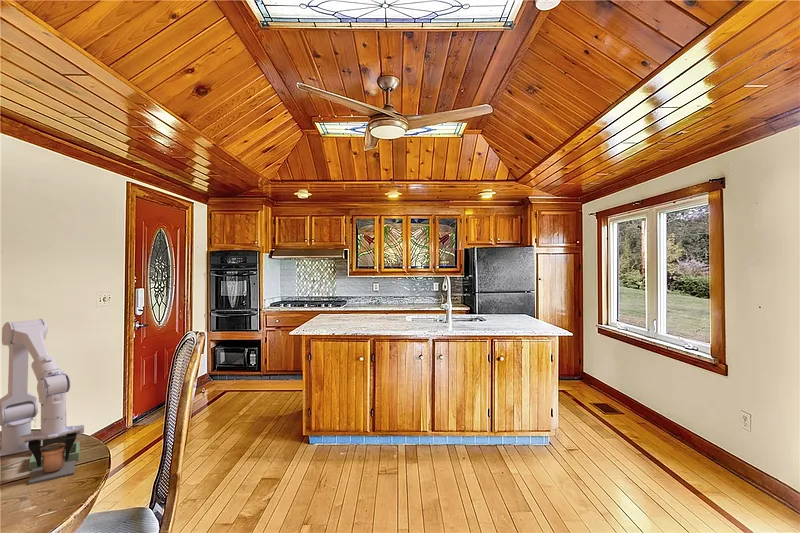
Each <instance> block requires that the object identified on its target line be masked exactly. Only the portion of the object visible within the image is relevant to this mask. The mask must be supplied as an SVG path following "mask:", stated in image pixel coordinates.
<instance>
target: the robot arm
mask: <svg viewBox="0 0 800 533" xmlns="http://www.w3.org/2000/svg"><path fill="white" fill-rule="evenodd" d="M48 328H49V327H48V323H47V321H46V320H45V319H44V318H39V319H33V320H31V319H30V320H20V321H6V322H5V323H4V324H3V325H2V327H1V344H2V346H6V347H8V371H7V372H8V377H7V378H8V379H7V394H5V395H3V397H1V398H0V427H1V428H0V429H1V430H0V432H1V437H0V438H1V439H0V440H1V441H0V444H1V446H0V457H3V456H8V455H13V454H14V455H15V454H18V453H25V452H31V454H32V453H33V455H34V457H35V459H36V462H37V467H38V466H41V459H42V457H41V454H40V450H41V449H42V441H43V440H44V439H50V438H55V437H61V436H66V453H65V454H66V455H65V461H67V460H68V458H69V453H71V452H70V450H71V448H72V445H73V443H74V442H76V440H77V436H78V434H79V435H80V434H84V433H85V424H81V425H71V426H70V425H69V426H67V393H69V391H70V389H71V380H70V377H69V375H68V373H67V372H65V371H64V370H61V368H60V366H59V364H58V361H57V359H56V357H55V356H53V355H49V352H48V348H47V345H46V344H47V343H46V342H45V340H46V337H47V334H48V331H49V329H48ZM29 354H30V356H31V357H32V359H33V362H31V364H30V366H31V369H32V371H33V373H34V376H35V379H36V381H37V385H36V391H37V394H38V397H37V396H36V395H35V394H33V393H32V392H29V388H28V387H29ZM39 403H40V431H35V432H32V421H34V418H36V417H37V415H38V413H39Z"/></svg>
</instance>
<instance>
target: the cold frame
mask: <svg viewBox="0 0 800 533" xmlns="http://www.w3.org/2000/svg"><path fill="white" fill-rule="evenodd" d="M80 444H81V442H80V441H74V443H73V445H72V448H71V450H70V453H69V458H68V460H67V461H65V462H69V461H74V460H75V462H78V461H77V460H79V459H80V450H81V448H80V447H81V446H80ZM65 455H66V449H65V450H64V457H65ZM28 465H29V466H28V468H29V469H28V470H29V472H30V471H31V472H32V470H33V469H36V468H41V467H43V460H42V455H41V466H38V467H37V462H36V459H35V457H34V455H33V453H32V452H31V456H30V460H29V464H28Z"/></svg>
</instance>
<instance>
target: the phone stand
mask: <svg viewBox="0 0 800 533" xmlns="http://www.w3.org/2000/svg"><path fill="white" fill-rule="evenodd" d="M55 443H65V444H66V436H61V437H55V438H50V439H44V440H42V448H43V447H45V446H48V445H51V444H55Z"/></svg>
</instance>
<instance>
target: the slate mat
mask: <svg viewBox="0 0 800 533" xmlns="http://www.w3.org/2000/svg"><path fill="white" fill-rule="evenodd" d="M75 466H76V461H75V460H74V461H69V462H65V465H64V467H62V468H61V469H59V470H56V471H52V472H44V471H43V467H41V468H36V469H33V470H32V471H31V473H30V477H29V480H28V485H34V484H39V483H43V482H46V481H51V480H55V479H60V478H65V477H69V476H73V475H75V470H76V467H75Z"/></svg>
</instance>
